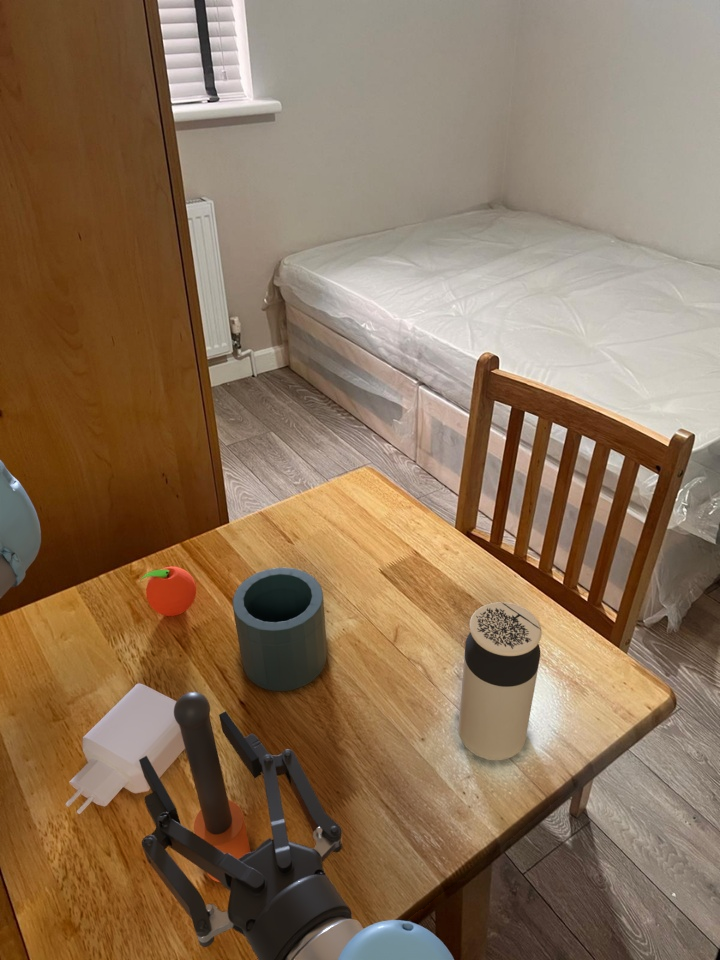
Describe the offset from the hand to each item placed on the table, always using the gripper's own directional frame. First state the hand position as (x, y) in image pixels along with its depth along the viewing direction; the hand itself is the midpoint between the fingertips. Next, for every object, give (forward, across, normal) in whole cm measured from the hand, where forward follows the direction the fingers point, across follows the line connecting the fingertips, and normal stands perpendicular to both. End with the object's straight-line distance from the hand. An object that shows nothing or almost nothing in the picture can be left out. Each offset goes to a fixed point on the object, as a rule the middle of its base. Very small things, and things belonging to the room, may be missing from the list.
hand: (186, 743), depth 71 cm
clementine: (+33, +11, -14) cm, 37 cm away
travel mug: (-10, +32, -14) cm, 37 cm away
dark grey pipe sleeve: (+15, +19, -14) cm, 28 cm away
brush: (-5, 0, -14) cm, 15 cm away
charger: (+12, -4, -14) cm, 19 cm away
